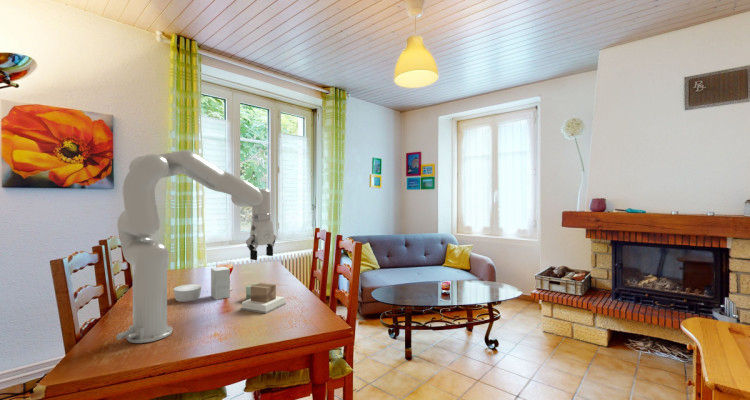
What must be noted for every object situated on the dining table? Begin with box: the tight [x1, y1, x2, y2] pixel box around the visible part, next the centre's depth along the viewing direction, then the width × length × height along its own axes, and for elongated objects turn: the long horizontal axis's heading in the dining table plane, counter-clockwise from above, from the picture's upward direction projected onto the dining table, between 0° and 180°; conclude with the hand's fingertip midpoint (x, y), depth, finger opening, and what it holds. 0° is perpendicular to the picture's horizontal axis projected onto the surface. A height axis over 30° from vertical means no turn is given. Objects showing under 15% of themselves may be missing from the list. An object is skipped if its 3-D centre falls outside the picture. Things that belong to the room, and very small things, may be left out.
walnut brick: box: [251, 282, 277, 303], centre depth 143 cm, size 6×8×6 cm
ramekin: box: [173, 283, 202, 303], centre depth 154 cm, size 11×11×5 cm
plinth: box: [240, 295, 287, 314], centre depth 143 cm, size 13×13×3 cm
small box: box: [210, 266, 231, 301], centre depth 157 cm, size 8×6×13 cm
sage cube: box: [245, 282, 258, 301], centre depth 155 cm, size 6×6×6 cm
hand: (261, 257), depth 146 cm, fingers open, 9 cm apart
